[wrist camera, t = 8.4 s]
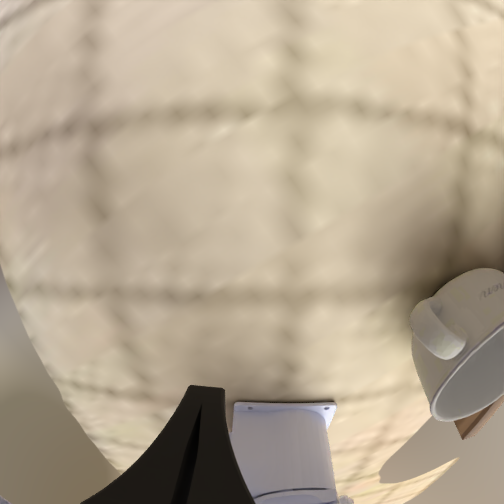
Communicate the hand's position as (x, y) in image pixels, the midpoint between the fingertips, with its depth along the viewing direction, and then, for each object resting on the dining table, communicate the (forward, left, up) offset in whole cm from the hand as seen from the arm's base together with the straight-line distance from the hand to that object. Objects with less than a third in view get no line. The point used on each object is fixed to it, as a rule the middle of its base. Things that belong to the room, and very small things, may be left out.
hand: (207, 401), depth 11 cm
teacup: (+17, -1, -10) cm, 19 cm away
